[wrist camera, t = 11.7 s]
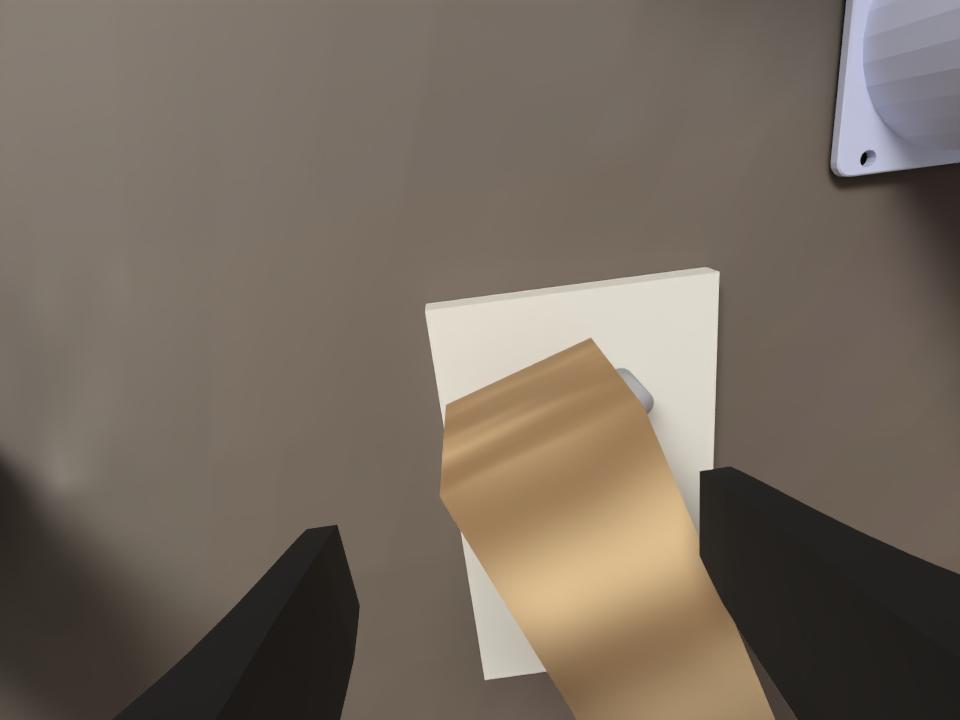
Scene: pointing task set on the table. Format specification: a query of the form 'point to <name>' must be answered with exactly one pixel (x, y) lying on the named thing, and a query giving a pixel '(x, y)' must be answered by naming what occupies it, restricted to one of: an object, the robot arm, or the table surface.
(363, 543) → the table surface
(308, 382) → the table surface
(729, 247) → the table surface
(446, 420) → the tan wooden block
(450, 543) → the table surface
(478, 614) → the peg stand
